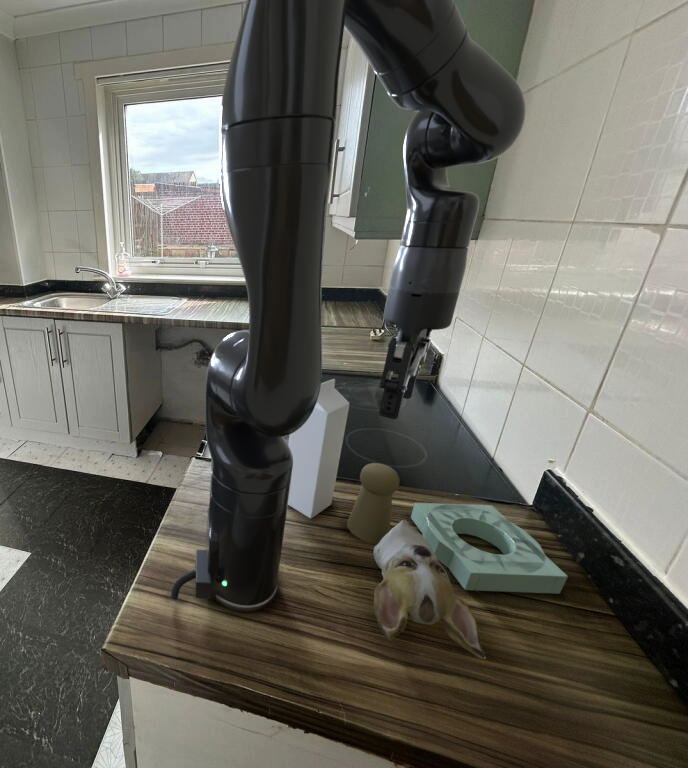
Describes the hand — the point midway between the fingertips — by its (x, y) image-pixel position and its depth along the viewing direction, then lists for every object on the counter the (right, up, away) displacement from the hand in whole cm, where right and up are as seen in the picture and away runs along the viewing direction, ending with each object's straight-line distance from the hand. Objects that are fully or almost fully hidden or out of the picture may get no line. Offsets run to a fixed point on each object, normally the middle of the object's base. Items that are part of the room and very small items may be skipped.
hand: (395, 406), depth 55 cm
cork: (0, -20, +8) cm, 21 cm away
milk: (-8, -17, +14) cm, 23 cm away
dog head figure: (-1, -25, -5) cm, 25 cm away
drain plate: (+14, -21, +3) cm, 26 cm away
